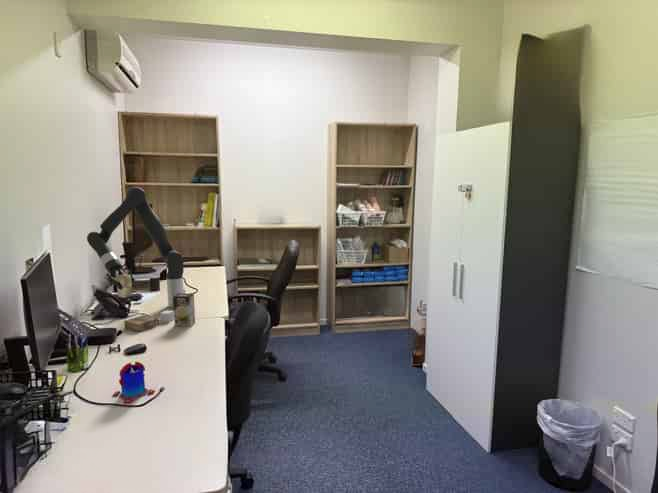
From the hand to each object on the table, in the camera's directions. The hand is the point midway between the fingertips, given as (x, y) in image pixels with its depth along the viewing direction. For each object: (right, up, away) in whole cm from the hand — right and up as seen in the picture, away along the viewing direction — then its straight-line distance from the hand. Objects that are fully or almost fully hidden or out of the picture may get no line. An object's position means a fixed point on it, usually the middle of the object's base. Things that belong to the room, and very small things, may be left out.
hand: (126, 287), depth 231 cm
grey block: (+18, -19, +8) cm, 27 cm away
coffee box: (+30, -20, +2) cm, 36 cm away
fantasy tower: (+35, -32, -72) cm, 86 cm away
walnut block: (+8, -20, -2) cm, 22 cm away
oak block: (-1, -5, +2) cm, 5 cm away
